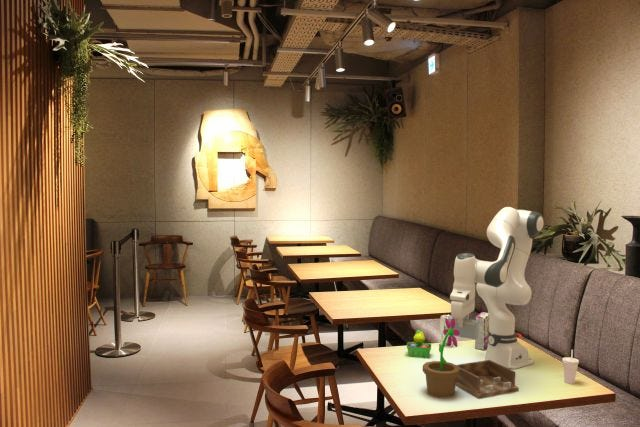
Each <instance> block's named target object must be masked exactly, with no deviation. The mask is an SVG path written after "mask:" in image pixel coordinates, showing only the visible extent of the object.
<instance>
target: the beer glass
mask: <svg viewBox="0 0 640 427" xmlns="http://www.w3.org/2000/svg"><path fill="white" fill-rule="evenodd" d="M449 317H452V316H451V314H443V315H440V320H439V329H440V330H439V332H440V337H441V338H440V344H441V345H442V342H443V340H444V338H445V336H446V335H444V334H443V331H444V329H447V326H446V323H445V319H446V318H447V319H448V318H449ZM449 336H450V335H449ZM449 336H448V337H449ZM448 337H447V339H446V342H445V345H444V349H445V348H446V349H450V348H453V347H454V344H453V343H452V344H451V345H450V347H449V346H448V343H447V340H448ZM451 338H452V337H451Z"/></svg>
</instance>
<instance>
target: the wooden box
mask: <svg viewBox="0 0 640 427" xmlns="http://www.w3.org/2000/svg"><path fill="white" fill-rule="evenodd" d="M456 365H457V366H458V367H459V368H460V374H459V376H458V377H457V378H456V384H455V387H457V388H458V389H461V390H462V391H464V392H466V393H468V394H469V395H472V396H473V397H475V398H477V399H478V400H479V399H482V398H484V399H485V398H489V397H494V396H500V395H504V394H511V393H515V392H519V390H520V388H519V386H517V385H516V371H515V370H514V369H513V370H512V369H511V368H506V367H504V366H502V365H500V364H497V363H495V362H493V361H491V360H486V361H484V360H479V361H473V362H468V363H461V364H460V363H459V364H456Z"/></svg>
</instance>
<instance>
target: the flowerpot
mask: <svg viewBox="0 0 640 427" xmlns="http://www.w3.org/2000/svg"><path fill="white" fill-rule="evenodd" d="M445 323H446V326H447V328H448V329H449V330H448V329H444V331H443V334H444V335H446V336H445V338H444V340H443V342H442V345H441V344H439V345H438V352H439V353H440V354H439V355H440V358H439V359H440V360H438V361H437V360H432V361H427V362H425V363H424V364H423V365H422V372H423V373H424V375H425V382H426V391H427V393H428V395H430V396H432V397H436V398H449V397H450V398H452V397H453V396H454V394H455V388H456V386H455V384H456V378H457V377H458V376H459V374H460V368H459V367H458V366H457V365H458V364H455V363H452V362H449V361H448V362H447V360H446V359H445V358H444V349H445V347H444V345H445V342H446V339H447V337H448V336H449V335H450V336H449V337H448V340H447V343H448V346H449V347H450V345H451V344H452V345H453V347H455V348H457V347H458V340H457V336H454V335H459V334H460V331H459V330H458V329H454V330H453V328H454V327H455V319H454V318H452V320H451V323H450V322H449V320H448V319H447V318H446V319H445ZM450 325H451V328H450ZM451 337H452V338H451ZM450 348H451V347H450Z"/></svg>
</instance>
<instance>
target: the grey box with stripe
mask: <svg viewBox="0 0 640 427" xmlns="http://www.w3.org/2000/svg"><path fill="white" fill-rule="evenodd" d="M448 320H449V322H450V323H451V320H452V317H449V318H448ZM463 323H464V326H463V327H462V328H461V327H459V326H458V325H459V323H458V320H457V319H455V327H454V328H453V330H454V329H458V330H459V331H460V334H459V335H454V337H459V338H466V339H471V340H475V339H477V338H478V330H479V321H477V320H476V319H475V320H474V319H469V318H468V319H463ZM450 328H451V325H450ZM447 329H448V328H447ZM448 330H449V329H448Z"/></svg>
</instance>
